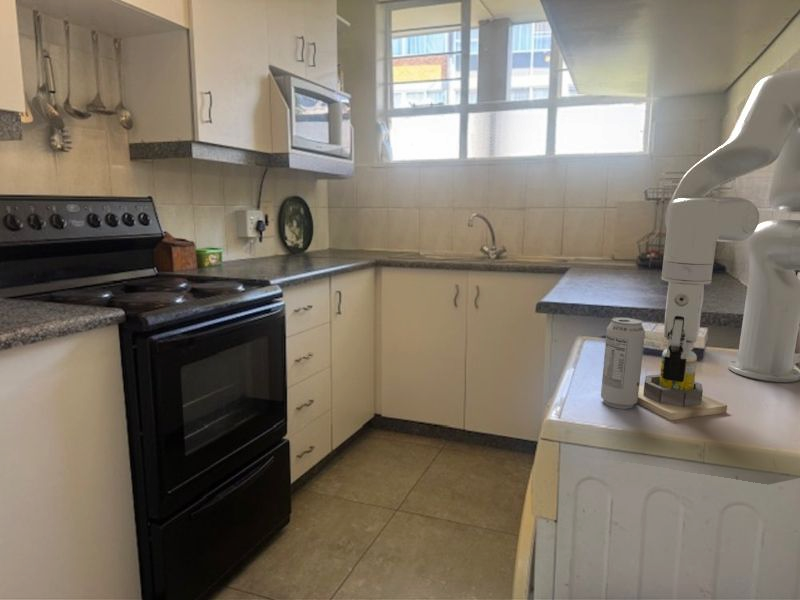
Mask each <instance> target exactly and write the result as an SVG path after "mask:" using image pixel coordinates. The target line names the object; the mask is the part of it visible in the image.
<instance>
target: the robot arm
mask: <svg viewBox="0 0 800 600" xmlns="http://www.w3.org/2000/svg"><path fill="white" fill-rule="evenodd" d="M775 161H776V162H775ZM774 162H775V167H774V171H773V175H772V180H771V183H770V184H771V185H770V189H769V196H768V201H769V202H768V203H769V205H770V208H771V209H773V211H776V212H779V213H784V214H792V215H793V214H794V215H800V68H794V69H791V70H788V71H781V72H776V73H773V74H769V75H767V76H766V77H764V78H762V79H760V80H759V81H758V82H757V83H756V85H754V87H753V89H752V91H751V92H750V95H749V96H748V98H747V101H745V104H744V107H743V109H742V110H741V112H740V114H739V117H738V118H737V121H736V123H735V125H734V127H733V128H732V130H731V132H730V135H729V137H728V139H727V140H726V142H724V143H723V144H722V145H721V146H719V147H717V148H716V149H714V150H713V151H711V152H710V153H708V154H707V155H706V156H705V157H703V158H702V159H701V160H700V161H698V162H697V163H695V165H693V166H692V167H691V168H689V170H688V171H687V172H685V174H684V175H683V176H682V178H680V179H681V180H680V181H679V183H678V184H677V187H676V189H675V190H674V192H673V194H672V197H671V198H670V200H669V203H668V206H667V208H666V212H665V217H664V221H665V227H666V233H665V242H664V249H663V250H664V251H663V260H662V268H661V269H662V270H661V278H660V279H661V280H662V281H665V282H667V283H668V285H667V293H666V300H665V303H666V304H665V312H664V313H665V314H664V330H663V337H664V339H665V340H667V343H668V344H667V347H666V349H667V353H666V356H665V360H664V369H663V379H666V380H672V381H677V382H683V381H684V374H685V366H686V359H684V358H685V351H686V344H687V340H688V341H692V343H694V344H695V343H697V341H698V339H699V335H700V326H701V318H702V311H703V304H704V303H703V302H704V293H705V292H704V291H705V289H704V287H705V285H710V284H712V279H713V278H712V277H713V270H714V263H715V255H716V248H717V242H722V243H723V242H724V243H737V242H741V241H744V240H746V239H748V240H747V241H748V242H747V247H748V248H747V250H748V266H749V267H748V281H747V289H746V297H745V303H744V309H743V318H742V323H741V324H742V325H741V330H740V332H741V333H740V338H739V346H738V351H737V352H738V353H737V357H736V358H734V359H731V360H729V361H728V362H727V368H728V369H729V370H730V372H731V371H732V372H733V373H735V374H736V375H741V376H744V377H746V378H751V379H754V380H755V379H756V380H759V381H764V382H765V381H766V382H774V383H794V382H797V381H800V371H799V370H797V369H796V368H795V365H796V364H800V353H795V351H796V346H797V340H798V335H799V334H798V333H799V326H800V279H799V277H798V276H797V274H796V273H795V271H800V219H771V220H765V221H763V222H760V223H759V221H760V213H759V209H758V207H757V206H756V204H754V203H753V202H752V201H751V200H748V199H747V198H743V197H739V196H738V197H737V196H735V197H734V196H708V195H709V193H710V192H712V191H713V190H714V189H716V188H717V187H719V186H721V185H722V184H725V183H726V182H730V181H732V180H734V179H737V178H740V177H744V176H746V175H748V174H752V173H754V172H756V171H759V170H761V169H764V168H766V167H769V166H770V165H772V164H773V163H774ZM681 337H684V340H681ZM671 338H672V339H671ZM680 344H683V345H682V346H680ZM681 351H682V353H681Z"/></svg>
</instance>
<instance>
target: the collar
mask: <svg viewBox="0 0 800 600" xmlns="http://www.w3.org/2000/svg"><path fill="white" fill-rule="evenodd" d="M659 383H660V373H659V374H652V375H645V378H644V383H643V384H644V385H639V393H638V402H637V403H636V404H637V405H639V406H640V407H643V408H645V409H647V410H649V411H651V412H653V413H655V414H657V415H659V416H660V417H663V418H665V419H667V420H669V421H675V420H682V419H683V420H684V419H689V418H696V417H703V416H708V415H709V416H710V415H711V416H712V415H717V414H724V413H727V412H728V411H727V410H728V405H727V404H724V403H722V402H720V401H718V400H714V399H712V398H710V397H708V396H706V395H703V392H704V390H703V389H704V388H703V384H702V383H700V382H697V381H696V380H694V389H693V390H685V391H681V390H674V389H668V388H663V387H661V386H659Z"/></svg>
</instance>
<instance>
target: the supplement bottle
mask: <svg viewBox="0 0 800 600" xmlns="http://www.w3.org/2000/svg"><path fill="white" fill-rule="evenodd" d="M671 339H672V338H671ZM681 340H684V337H681ZM667 345H668V342H667ZM682 345H683V344H680V346H682ZM694 345H695V343H692V341H688V340H687V344H686V351H685V358H684V359H686V366H685V374H684V381H683V382H677V381H672V380H666V379H663V369H664V360H665V356H666V353H667V348H665V349H664V350H663V352H662V353H661V364H660V372H659V374H660V383H659V386H661V387H663V388H668V389H674V390H681V391H685V390H693V389H694V381H696V380H695V379H696V378H695V377H696V371H697V370H696V369H697V360H698V356H697V354H696V353H695V352H694V351H692V350H694V348H695V346H694ZM681 353H682V351H681Z"/></svg>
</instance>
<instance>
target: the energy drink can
mask: <svg viewBox="0 0 800 600" xmlns="http://www.w3.org/2000/svg"><path fill="white" fill-rule="evenodd" d="M642 323H643V320H641V319H637V318H633V317H627V316H619V317H618V316H615V317H612V318H611V322H610V324H609V325H607V327H606V335H605V336H606V337H605V348H604V356H603V357H604V358H603V368H602V378H601V379H602V380H601V390H600V397H601V399H602V400H603V403H604V404H605V405H606V406H609V407H611V408H614V409H621V410H623V409H624V410H625V409H626V410H627V409H628V408H629V409H632V408H634V405H635V404H637V402H638V393H639V386H640V381H641V373H642V366H643V365H642V364H643V356H644V345H645V338H646V337H645V336H646V332H645V328H644V327H643V324H642Z"/></svg>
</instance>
